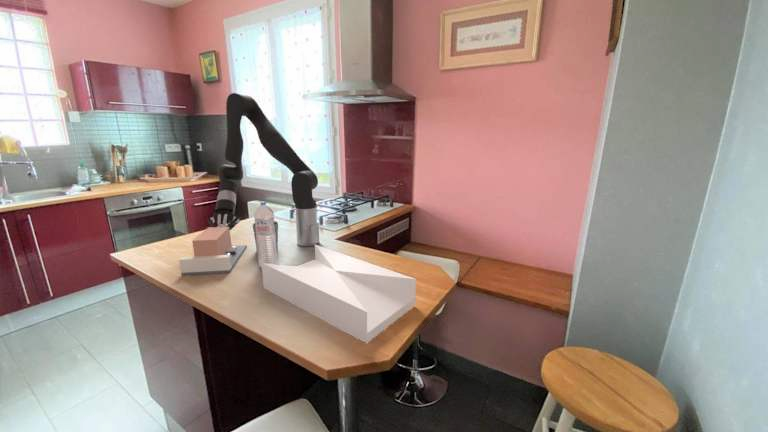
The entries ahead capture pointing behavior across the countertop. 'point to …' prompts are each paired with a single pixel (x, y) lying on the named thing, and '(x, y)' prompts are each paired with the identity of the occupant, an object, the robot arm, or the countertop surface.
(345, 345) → the countertop surface
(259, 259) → the water bottle
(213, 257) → the grey piece
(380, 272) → the building model
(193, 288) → the countertop surface
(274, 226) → the grey pot
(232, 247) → the rear roller
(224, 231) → the terracotta block
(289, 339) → the countertop surface
